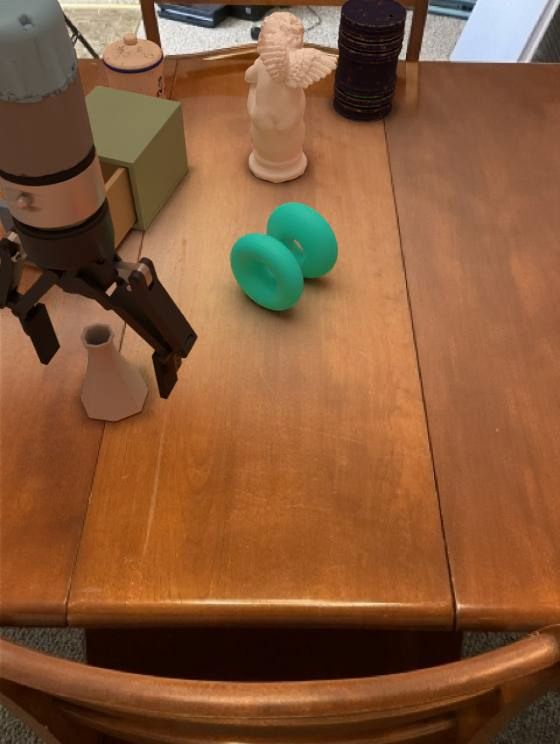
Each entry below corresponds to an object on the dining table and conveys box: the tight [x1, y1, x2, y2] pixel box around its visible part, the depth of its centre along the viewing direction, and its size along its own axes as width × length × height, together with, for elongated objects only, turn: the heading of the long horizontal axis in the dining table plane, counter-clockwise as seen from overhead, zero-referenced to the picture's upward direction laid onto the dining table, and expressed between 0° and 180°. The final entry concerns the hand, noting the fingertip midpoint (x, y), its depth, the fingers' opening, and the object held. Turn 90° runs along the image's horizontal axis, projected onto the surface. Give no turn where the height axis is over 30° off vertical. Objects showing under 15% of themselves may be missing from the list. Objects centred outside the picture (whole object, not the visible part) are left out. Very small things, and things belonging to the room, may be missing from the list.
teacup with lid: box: [101, 32, 168, 100], centre depth 105 cm, size 12×9×12 cm
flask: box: [80, 322, 149, 422], centre depth 70 cm, size 7×7×10 cm
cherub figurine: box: [244, 11, 338, 184], centre depth 91 cm, size 12×12×22 cm
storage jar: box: [332, 0, 408, 123], centre depth 105 cm, size 10×10×15 cm
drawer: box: [0, 161, 137, 268], centre depth 83 cm, size 18×11×9 cm, turn 161°
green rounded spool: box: [229, 201, 339, 311], centre depth 81 cm, size 10×10×10 cm
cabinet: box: [84, 85, 189, 232], centre depth 92 cm, size 15×13×11 cm
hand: (109, 371), depth 70 cm, fingers open, 13 cm apart
